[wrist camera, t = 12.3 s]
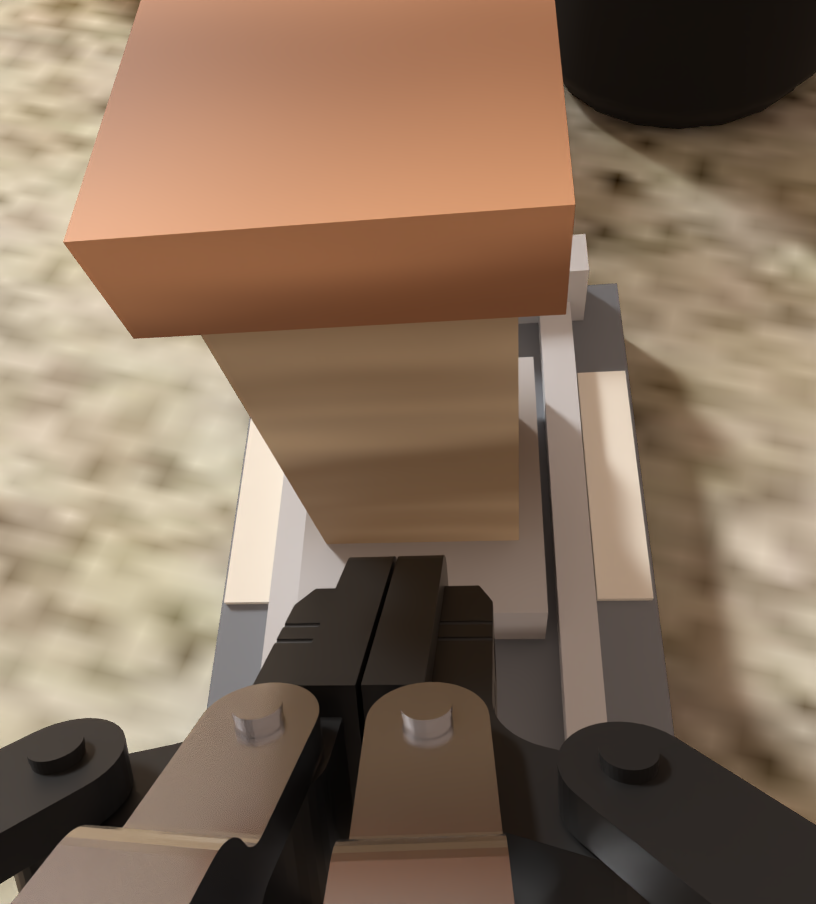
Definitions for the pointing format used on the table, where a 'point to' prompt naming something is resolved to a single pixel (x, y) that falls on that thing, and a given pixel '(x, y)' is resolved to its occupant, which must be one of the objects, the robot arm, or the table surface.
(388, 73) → the slider
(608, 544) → the track
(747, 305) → the table surface
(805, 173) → the table surface
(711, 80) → the coffee jar
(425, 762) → the robot arm
